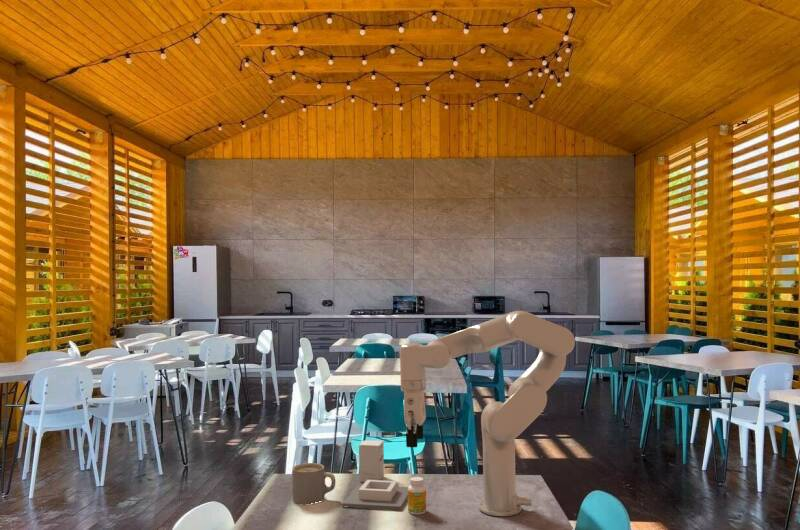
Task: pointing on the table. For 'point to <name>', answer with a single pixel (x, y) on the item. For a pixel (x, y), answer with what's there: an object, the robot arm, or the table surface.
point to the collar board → (378, 495)
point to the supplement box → (371, 460)
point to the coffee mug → (310, 483)
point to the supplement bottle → (416, 496)
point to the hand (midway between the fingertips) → (415, 442)
